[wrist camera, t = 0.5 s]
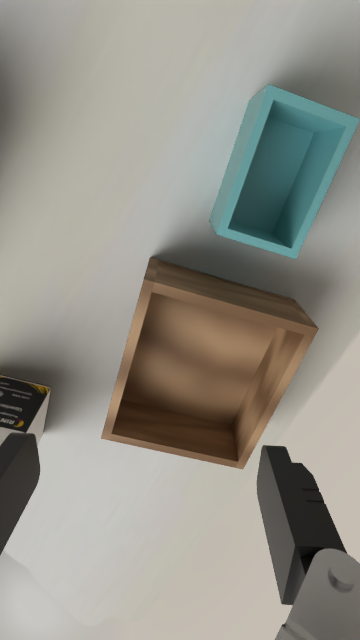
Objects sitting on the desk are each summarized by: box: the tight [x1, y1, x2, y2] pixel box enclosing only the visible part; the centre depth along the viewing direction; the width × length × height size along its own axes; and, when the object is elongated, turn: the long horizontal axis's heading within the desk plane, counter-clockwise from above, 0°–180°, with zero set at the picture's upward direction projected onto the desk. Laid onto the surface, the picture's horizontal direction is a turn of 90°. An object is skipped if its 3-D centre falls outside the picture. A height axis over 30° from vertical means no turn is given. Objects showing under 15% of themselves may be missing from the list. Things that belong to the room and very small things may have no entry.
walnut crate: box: [101, 258, 318, 469], centre depth 31 cm, size 16×14×6 cm
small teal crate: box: [209, 84, 360, 259], centre depth 24 cm, size 9×6×6 cm, turn 163°
